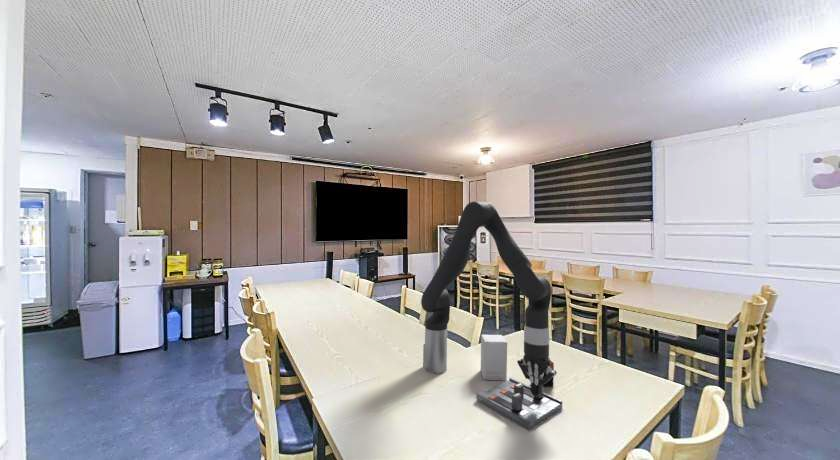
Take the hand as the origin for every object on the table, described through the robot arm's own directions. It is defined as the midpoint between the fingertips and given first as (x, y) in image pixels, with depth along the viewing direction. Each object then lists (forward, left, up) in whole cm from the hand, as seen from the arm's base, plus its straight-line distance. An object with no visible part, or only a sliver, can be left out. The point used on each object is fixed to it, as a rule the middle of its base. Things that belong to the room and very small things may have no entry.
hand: (536, 394), depth 100 cm
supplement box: (-25, +11, -6) cm, 28 cm away
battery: (-9, +20, -6) cm, 23 cm away
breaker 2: (-3, -6, -4) cm, 7 cm away
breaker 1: (-6, 0, -4) cm, 7 cm away
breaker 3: (-3, +6, -4) cm, 8 cm away
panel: (-6, 0, -6) cm, 9 cm away
